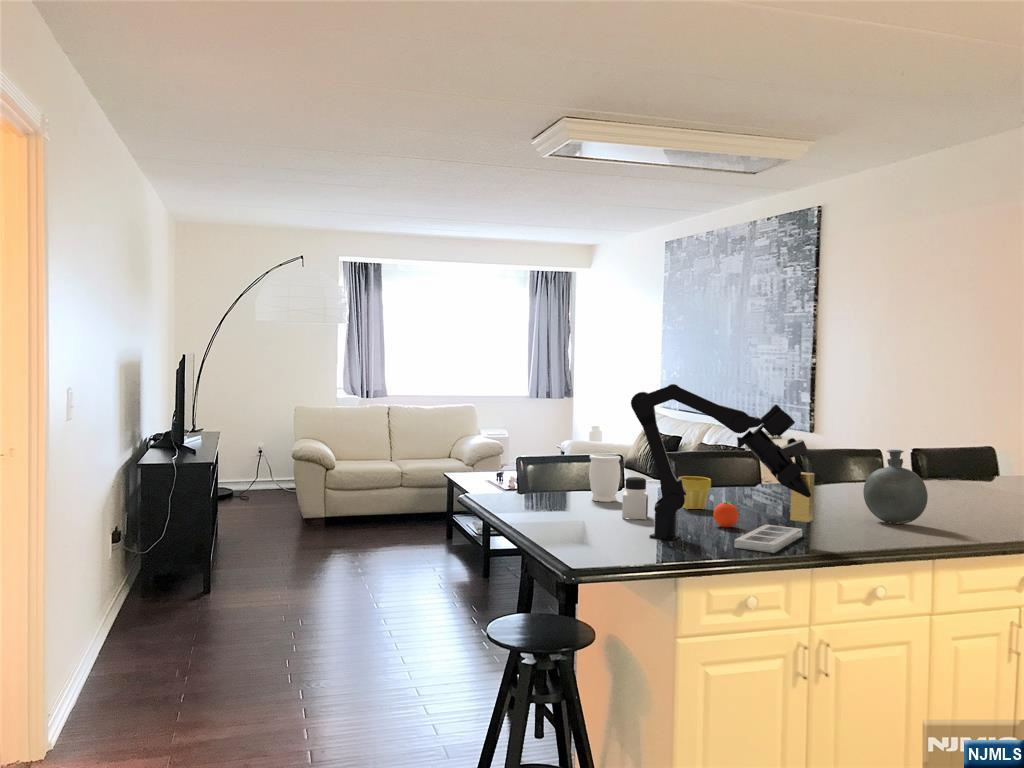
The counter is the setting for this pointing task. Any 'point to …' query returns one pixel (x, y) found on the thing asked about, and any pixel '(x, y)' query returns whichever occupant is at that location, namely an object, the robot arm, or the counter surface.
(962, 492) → the counter surface
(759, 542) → the white compartment tray
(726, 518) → the tomato
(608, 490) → the jar
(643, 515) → the medicine bottle
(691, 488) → the plant pot
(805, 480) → the yellow tall block
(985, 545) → the counter surface
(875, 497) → the flask
